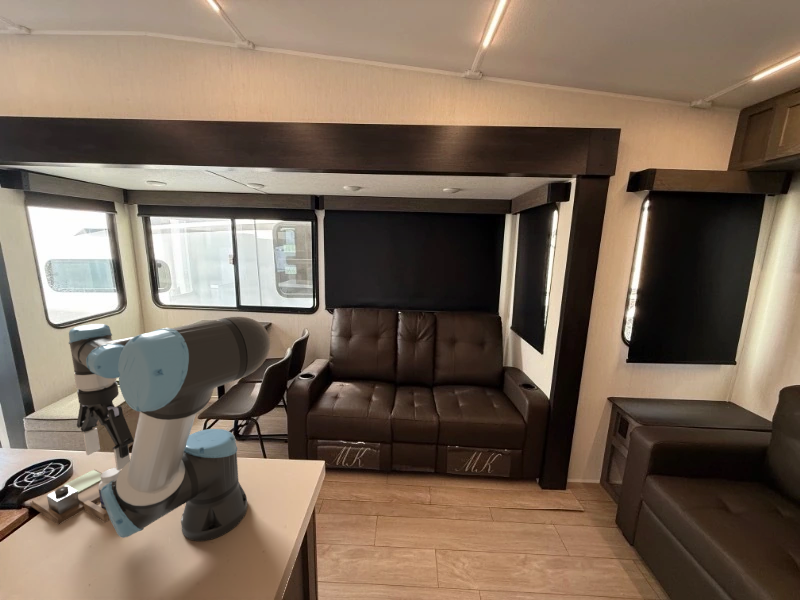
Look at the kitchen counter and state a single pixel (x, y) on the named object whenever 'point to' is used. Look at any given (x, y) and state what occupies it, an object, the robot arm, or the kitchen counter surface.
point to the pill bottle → (107, 481)
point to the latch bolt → (63, 499)
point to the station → (86, 495)
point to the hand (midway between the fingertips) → (108, 459)
